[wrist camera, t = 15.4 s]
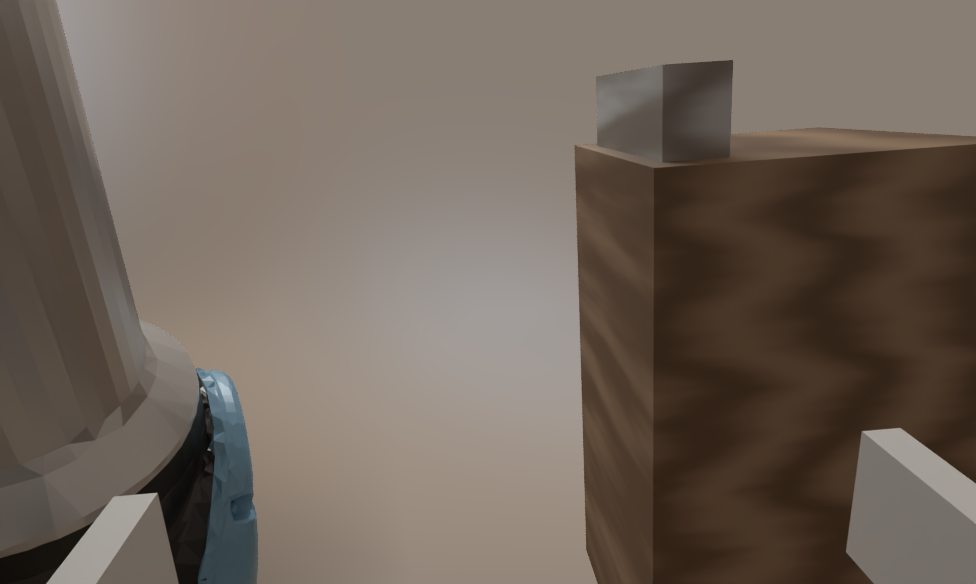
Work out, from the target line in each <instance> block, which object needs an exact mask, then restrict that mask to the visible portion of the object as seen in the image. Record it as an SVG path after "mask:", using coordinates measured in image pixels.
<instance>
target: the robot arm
mask: <svg viewBox="0 0 976 584" xmlns="http://www.w3.org/2000/svg"><path fill="white" fill-rule="evenodd" d="M252 498H253V472H252V464H251V456H250V450H249V443H248V437H247V431H246V426H245V421H244V416H243V412H242V408H241V404H240V401H239V397H238V393H237V391H236V388H235V386H234V383H233V381H232V380H231V378H230V377H229V376H228V375H227V374H225V373H224V372H221V371H218V370H207V371H206V370H203V369H200V368H196V369H195V366H194V364H193V362H192V360H191V359H190V357H189V355H188V354H187V352H186V351H185V349H184V348H183V346H182V345H181V344H180V343H179V342H178V341H177V340H176V339H174V338H173V337H172V336H171V335H170V334H168V333H167V332H165V331H163V330H162V329H160V328H158V327H156V326H154V325H152V324H150V323H147V322H145V321H142V320H139V318H138V314H137V311H136V307H135V303H134V299H133V295H132V291H131V288H130V284H129V280H128V276H127V272H126V268H125V264H124V261H123V257H122V253H121V249H120V246H119V242H118V237H117V234H116V230H115V226H114V222H113V218H112V214H111V211H110V207H109V203H108V199H107V195H106V191H105V188H104V184H103V180H102V176H101V172H100V169H99V164H98V160H97V157H96V153H95V149H94V145H93V141H92V138H91V134H90V130H89V126H88V122H87V118H86V114H85V110H84V107H83V103H82V99H81V95H80V91H79V87H78V84H77V80H76V76H75V72H74V68H73V64H72V60H71V57H70V53H69V49H68V45H67V41H66V37H65V33H64V30H63V26H62V22H61V18H60V14H59V10H58V6H57V3H56V0H0V584H257V572H258V533H257V519H256V512H255V508H254V505H253V503H252ZM846 553H847V554H848V555H849V556H850V557H851V558H852V559H853V560H854V562H855V563H856V564H857V565H858V566H859V567H860V568H861V570H862V571H863V572H864V573H865V574H866V575H867V576H868V578H869V579H870V580H871V581H872V582H873V583H874V584H976V483H974V482H973V481H972V480H970V479H969V478H967V477H966V476H965V475H963V474H962V473H961V472H959V471H958V470H957V469H955V468H954V467H953V466H951V465H950V464H949V463H947V462H946V461H944V460H943V459H942V458H940V457H939V456H938V455H936V454H935V453H934V452H932V451H931V450H930V449H928V448H927V447H925V446H924V445H923V444H921V443H920V442H919V441H917V440H916V439H915V438H913V437H912V436H911V435H909V434H908V433H907V432H905V431H904V430H902V429H901V428H894V429H882V430H871V431H862V434H861V441H860V449H859V457H858V464H857V472H856V479H855V487H854V494H853V502H852V510H851V517H850V525H849V532H848V540H847V547H846Z"/></svg>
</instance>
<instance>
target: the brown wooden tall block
mask: <svg viewBox="0 0 976 584" xmlns="http://www.w3.org/2000/svg"><path fill="white" fill-rule="evenodd" d="M732 74H733V60H729V61H712V62H698V63H684V64H683V63H682V64H668V65H659V66H653V67H648V68H642V69H636V70H631V71H625V72H620V73H614V74H609V75H603V76H597V77H596V91H597V92H596V93H597V143H598V144H585V145H575V173H576V208H577V241H578V242H577V244H578V278H579V312H580V343H581V344H580V345H581V380H582V411H583V412H582V414H583V448H584V480H585V481H584V483H585V515H586V550H587V553H588V556H589V559H590V561H591V565H592V567H593V571H594V574H595V577H596V579H597V582H598V584H874V583H873V582H872V581H871V580H870V579H869V578H868V576H867V575H866V574H865V573H864V572H863V571H862V570H861V568H860V567H859V566H858V565H857V564H856V563H855V562H854V560H853V559H852V558H851V557H850V556H849V555H848V554H847V553H846V547H847V540H848V532H849V525H850V517H851V510H852V502H853V494H854V487H855V479H856V472H857V464H858V457H859V449H860V441H861V434H862V431H871V430H882V429H894V428H901V429H902V430H904V431H905V432H907V433H908V434H909V435H911V436H912V437H913V438H915V439H916V440H917V441H919V442H920V443H921V444H923V445H924V446H925V447H927V448H928V449H930V450H931V451H932V452H934V453H935V454H936V455H938V456H939V457H940V458H942V459H943V460H944V461H946V462H947V463H949V464H950V465H951V466H953V467H954V468H955V469H957V470H958V471H959V472H961V473H962V474H963V475H965V476H966V477H967V478H969V479H970V480H972V481H973V482H974V483H976V137H972V136H955V135H938V134H920V133H904V132H887V131H869V130H852V129H834V128H807V129H793V130H779V131H766V132H751V133H738V134H731V106H732V76H733V75H732Z"/></svg>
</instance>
